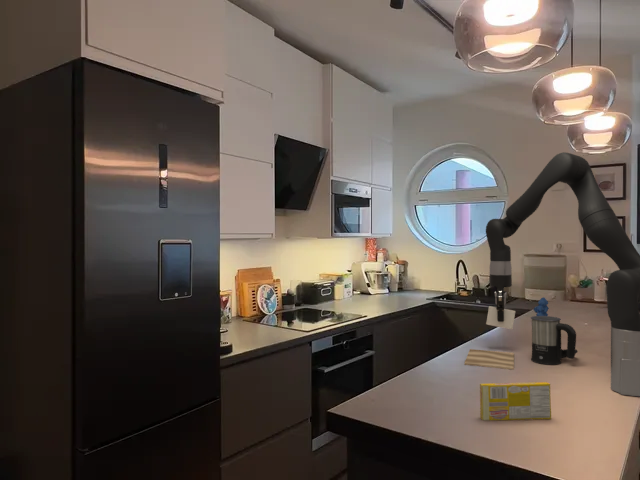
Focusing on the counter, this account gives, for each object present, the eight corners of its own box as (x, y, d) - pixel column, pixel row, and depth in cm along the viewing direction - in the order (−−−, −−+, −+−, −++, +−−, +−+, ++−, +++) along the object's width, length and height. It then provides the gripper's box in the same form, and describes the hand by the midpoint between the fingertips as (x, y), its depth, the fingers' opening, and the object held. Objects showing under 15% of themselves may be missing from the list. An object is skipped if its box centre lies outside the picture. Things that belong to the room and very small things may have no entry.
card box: (512, 329, 168) (515, 311, 168) (486, 324, 172) (488, 306, 171) (512, 328, 171) (515, 310, 170) (486, 323, 174) (489, 305, 174)
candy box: (547, 416, 111) (547, 381, 111) (551, 419, 109) (551, 384, 109) (479, 417, 110) (479, 382, 110) (482, 421, 108) (482, 385, 108)
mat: (513, 369, 148) (513, 367, 148) (464, 364, 154) (464, 362, 154) (513, 354, 167) (514, 352, 167) (469, 350, 173) (469, 349, 173)
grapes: (536, 319, 235) (536, 295, 235) (551, 321, 230) (551, 296, 230) (529, 322, 226) (529, 298, 226) (544, 324, 222) (544, 299, 221)
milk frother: (529, 363, 156) (529, 318, 156) (532, 352, 170) (532, 311, 170) (578, 368, 149) (578, 322, 149) (577, 357, 163) (577, 314, 163)
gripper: (511, 275, 163) (511, 324, 163) (511, 272, 176) (511, 318, 176) (488, 274, 166) (488, 323, 166) (490, 272, 179) (490, 317, 179)
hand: (500, 320), depth 171 cm, fingers closed on card box, 2 cm apart
